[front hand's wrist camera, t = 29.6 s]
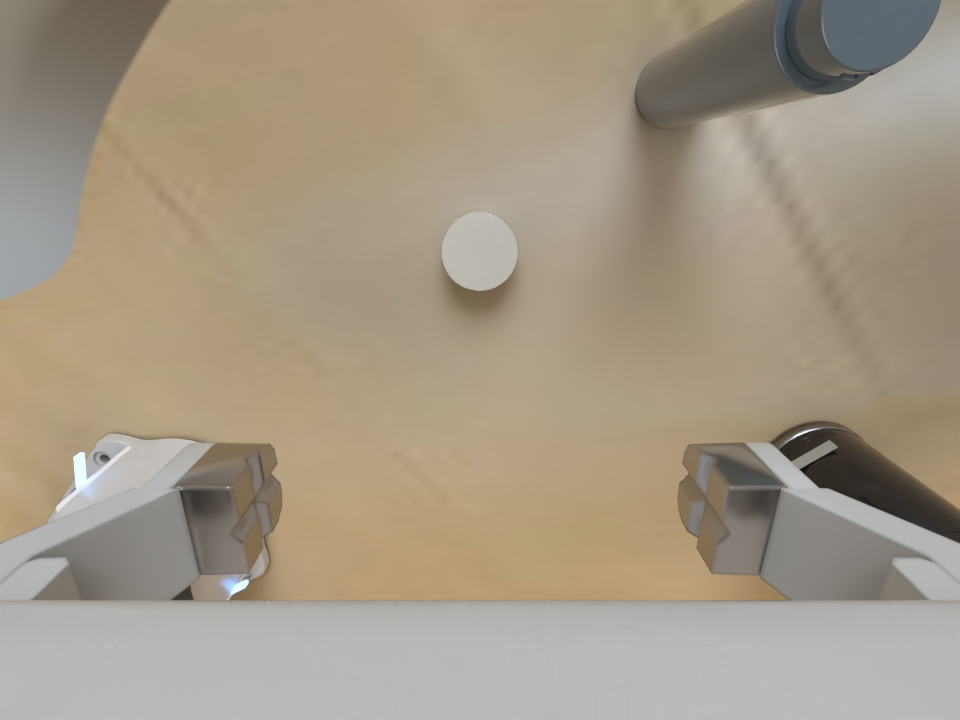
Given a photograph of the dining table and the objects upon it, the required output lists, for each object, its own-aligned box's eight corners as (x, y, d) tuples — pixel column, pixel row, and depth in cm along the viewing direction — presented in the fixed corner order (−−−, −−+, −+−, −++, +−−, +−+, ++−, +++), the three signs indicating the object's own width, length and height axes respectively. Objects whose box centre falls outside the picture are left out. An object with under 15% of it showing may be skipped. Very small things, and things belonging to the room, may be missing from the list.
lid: (433, 223, 38) (430, 227, 36) (504, 201, 38) (505, 203, 36) (456, 293, 40) (455, 300, 38) (524, 272, 40) (526, 278, 38)
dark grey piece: (714, 105, 36) (971, 35, 17) (651, 142, 36) (830, 113, 18) (689, 37, 34) (940, -121, 16) (624, 76, 35) (788, -29, 16)
